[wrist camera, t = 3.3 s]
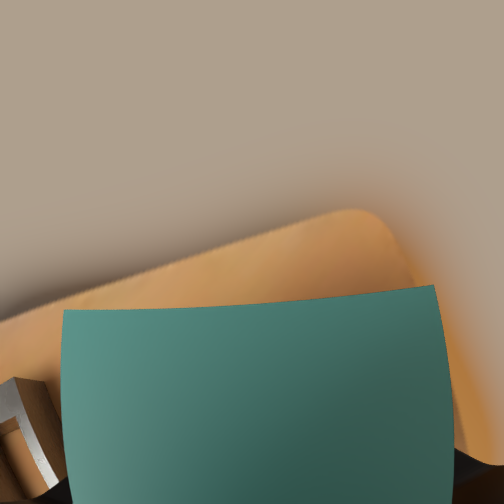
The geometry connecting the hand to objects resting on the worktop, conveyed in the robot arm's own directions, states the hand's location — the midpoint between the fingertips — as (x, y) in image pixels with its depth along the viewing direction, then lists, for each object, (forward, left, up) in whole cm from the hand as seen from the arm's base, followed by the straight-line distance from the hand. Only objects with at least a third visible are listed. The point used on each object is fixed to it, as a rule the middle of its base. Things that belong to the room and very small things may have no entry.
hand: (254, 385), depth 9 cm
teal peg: (-1, +1, -7) cm, 7 cm away
